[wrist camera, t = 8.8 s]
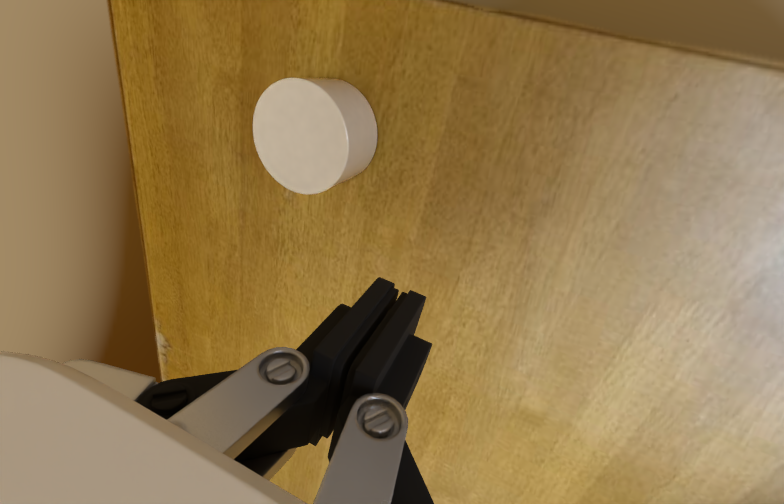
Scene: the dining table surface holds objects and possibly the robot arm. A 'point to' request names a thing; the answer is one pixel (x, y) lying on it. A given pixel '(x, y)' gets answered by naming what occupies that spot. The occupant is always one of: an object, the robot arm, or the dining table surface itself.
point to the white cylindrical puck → (314, 133)
